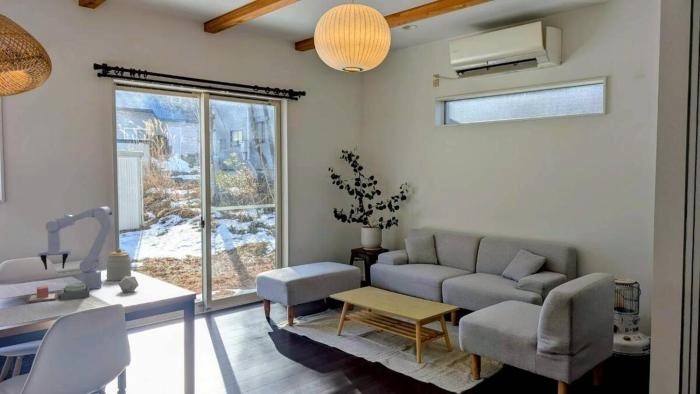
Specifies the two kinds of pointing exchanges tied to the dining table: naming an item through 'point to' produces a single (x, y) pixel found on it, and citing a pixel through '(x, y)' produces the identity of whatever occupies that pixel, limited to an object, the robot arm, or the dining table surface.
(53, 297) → the board
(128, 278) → the die
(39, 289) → the small die
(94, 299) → the dining table surface
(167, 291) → the dining table surface
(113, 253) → the jar
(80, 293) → the grey square tray
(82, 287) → the dome
